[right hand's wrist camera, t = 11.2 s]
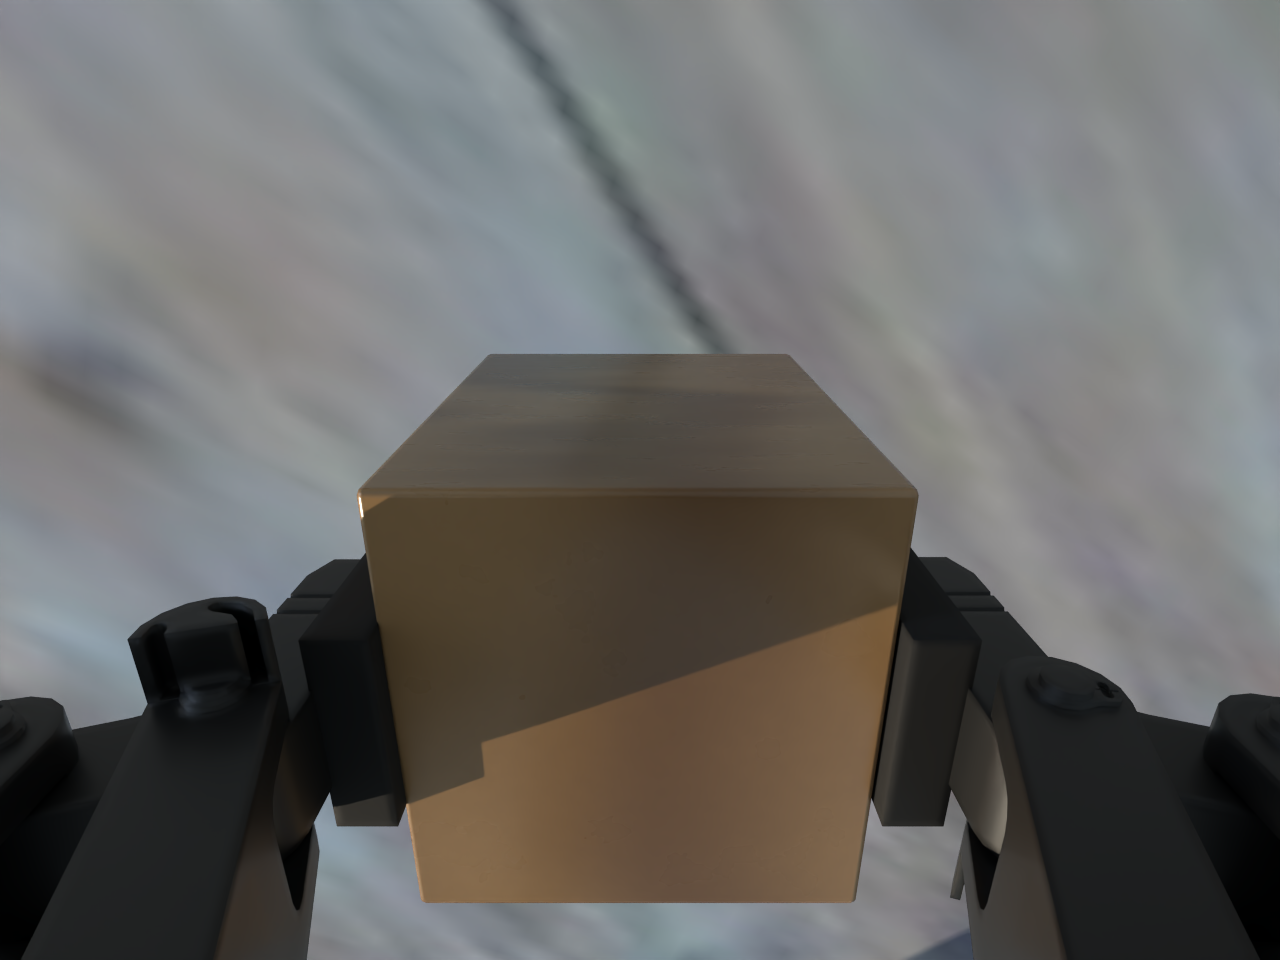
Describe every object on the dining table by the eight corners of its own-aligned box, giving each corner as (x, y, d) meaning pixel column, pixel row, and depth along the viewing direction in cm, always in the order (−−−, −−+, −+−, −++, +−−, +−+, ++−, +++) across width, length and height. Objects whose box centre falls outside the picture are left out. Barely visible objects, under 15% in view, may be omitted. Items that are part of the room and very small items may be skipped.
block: (508, 619, 16) (418, 906, 10) (487, 352, 14) (352, 490, 7) (769, 619, 16) (857, 905, 10) (789, 353, 14) (923, 490, 7)
